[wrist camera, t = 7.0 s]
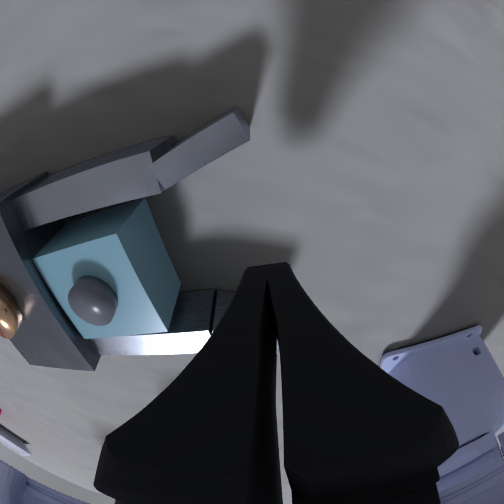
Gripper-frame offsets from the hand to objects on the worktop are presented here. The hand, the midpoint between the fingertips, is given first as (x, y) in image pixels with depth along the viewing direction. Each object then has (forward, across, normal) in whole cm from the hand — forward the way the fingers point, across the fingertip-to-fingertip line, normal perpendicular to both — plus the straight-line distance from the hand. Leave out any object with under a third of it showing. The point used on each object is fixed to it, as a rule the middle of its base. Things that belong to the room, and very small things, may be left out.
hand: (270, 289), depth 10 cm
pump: (+5, +8, 0) cm, 9 cm away
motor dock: (+4, +8, 0) cm, 9 cm away
